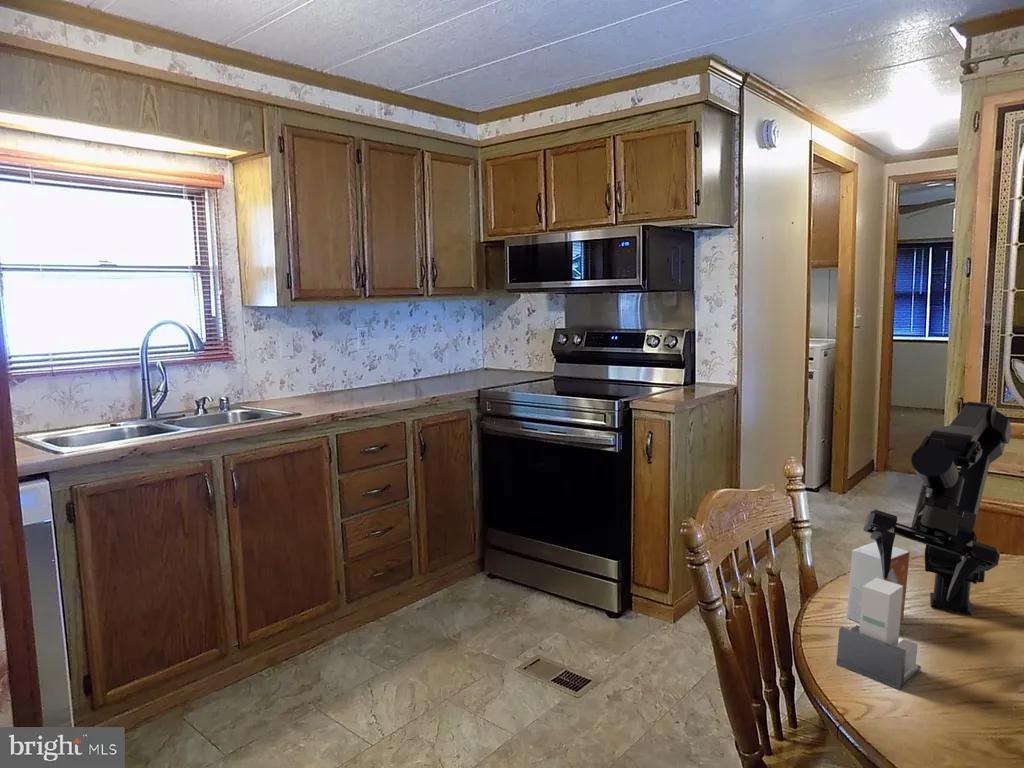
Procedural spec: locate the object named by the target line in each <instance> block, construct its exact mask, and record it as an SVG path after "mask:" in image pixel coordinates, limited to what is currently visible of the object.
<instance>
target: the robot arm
mask: <svg viewBox="0 0 1024 768" xmlns="http://www.w3.org/2000/svg"><path fill="white" fill-rule="evenodd" d="M1011 436H1012V426H1011V422H1010V418H1009V417H1008V416H1006V415H1004V414H1003V413H1001V412H1000V411H999V410H997V408H996V406H995V405H994V404H993V405H992V404H991V403H988V402H987V403H985V402H977V401H967V402H965V401H964V402H962V405H961V409H960V411H959V412H958V414H957V415H956V416H955V417H954V418H953V420H952V421H951V423H949V425H944V426H937V427H935V428H934V429H933V430H931V432H930V433H929V434H927V435H926V436H925V438H924V439H923V441H922V442H921V444H920V445H919V446H918V448H917V449H916V450H915V451H914V452H913V453H912V455H911V460H910V461H911V466H912V467H913V469H914V471H915V474H916V476H917V478H918V480H919V482H920V483H921V487H920V491H919V495H918V499H917V503H916V507H915V510H914V514H913V518H912V523H911V525H910V526H908V525H906V524H905V525H904V524H901V523H898V516H897V515H894V514H891V513H888V512H884V511H882V510H879V509H874V510H871V511H870V512H869V514H868V515H867V517H866V519H865V521H864V522H865V523H864V525H863V531H864V532H865V533H867V534H870V535H869V537H870V539H872V540H874V541H875V542H876V543H877V546H878V550H879V553H880V558H881V565H882V572H883V578H884V579H887V577H888V574H889V570H890V563H891V556H892V548H893V547H894V542H895V540H896V539H895V538H896V536H898V537H901V538H906V539H908V540H911V541H915V542H917V543H920V544H924V545H925V549H924V571H925V572H927V573H933V574H935V575H934V584H933V592H930V593H929V598H930V600H929V601H930V608H931V609H935V610H936V609H937V610H942V611H947V612H951V613H957V614H961V615H967V616H972V615H973V609H972V604H971V600H970V598H971V597H970V596H971V595H970V594H971V586H972V584H974V585H977V584H979V583H985V578H986V577H985V576H986V572H988V571H990V570H992V569H994V568H995V567H997V566H998V565H999V561H1000V556H1001V555H1000V551H999V550H998V548H997V547H995V546H992V545H988V544H986V543H982V542H980V541H978V540H979V539H978V537H977V535H976V533H975V526H976V522H977V518H978V514H979V510H980V506H981V502H982V497H983V493H984V490H985V484H986V481H987V477H988V472H989V469H990V465H991V463H994V461H996V460H997V459H998V458H1000V457H1001V456H1003V453H1004V450H1005V446H1006V444H1007V445H1008V444H1009V443H1010V441H1011ZM958 467H960V469H959V470H958Z"/></svg>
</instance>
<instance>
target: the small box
mask: <svg viewBox="0 0 1024 768" xmlns="http://www.w3.org/2000/svg"><path fill="white" fill-rule="evenodd" d="M910 553H911V552H910V550H909V551H908V550H906V549H902V548H900V547H896V546H893V548H892V556H891V563H890V570H889V574H888V577H887V579H884V578H883V572H882V565H881V558H880V553H879V550H878V546H877V543H876V541H874V542H871V543H868V544H864V545H861V546H860V547H857V548H854V549H852V550H851V561H850V573H849V585H848V587H849V588H848V589H849V590H848V596H847V597H848V599H847V600H848V601H847V609H846V611H847V612H846V618H847V619H849V620H852V621H854V622H857V623H859V624H860V614H861V601H862V588H863V586H864V585H866V584H867V583H869V582H870V581H872V580H874V579H875V578H879V579H882V580H886V581H889V582H892V583H896V584H899V585H902V586H903V594H902V606H901V617H900V622H902V621H903V620H904V617H905V605H906V596H907V595H906V594H907V584H908V576H909V575H908V573H909V563H910Z"/></svg>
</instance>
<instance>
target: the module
mask: <svg viewBox="0 0 1024 768" xmlns="http://www.w3.org/2000/svg"><path fill="white" fill-rule="evenodd" d="M902 594H903V586H902V585H899V584H896V583H892V582H889V581H886V580H882V579H879V578H875V579H874V580H872V581H870V582H869V583H867V584H866V585H864V586H863V588H862V601H861V614H860V623H859V626H860V627H859V633H860V634H863V635H866V636H869V637H871V638H874V639H877V640H879V641H882V642H885V643H888V644H890V645H893V646H896V645H897V644H898V643H899V641H900V639H899V637H900V627H901V621H900V617H901V606H902Z"/></svg>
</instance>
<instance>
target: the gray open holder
mask: <svg viewBox="0 0 1024 768" xmlns="http://www.w3.org/2000/svg"><path fill="white" fill-rule="evenodd" d="M859 627H860V625H858V624H857V625H854V626H853V627H852V628H850V629H849V628H846V627H843V626H841V627H839V629H838V640H837V641H838V642H837V651H836V652H837V653H836V654H837V655H836V665H837V666H839V667H841V668H844V669H846V670H849V671H850V672H851V671H852V672H853V673H856V674H857V675H858V674H859V675H861V676H863V677H865V678H869V679H870V680H873V681H875V682H879V683H881V684H883V685H885V686H888V687H890V688H893V689H896V690H897V691H901V690H902V689H904V688H905V687H906V686H907V685H908V684H909V683H910V682H911V681H913V679H914V678H916V676H917V675H919V673H920V672H921V668H922V666H920V665H918V664H917V656H918V645H919V644H918V643H917V642H913V641H910V640H907V639H906V638H903V639H902V640H901V641H900V642H898V644H897V645H896V646H893V645H890V644H888V643H885V642H882V641H879V640H877V639H874V638H871V637H869V636H866V635H863V634H860V633H859Z"/></svg>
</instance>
